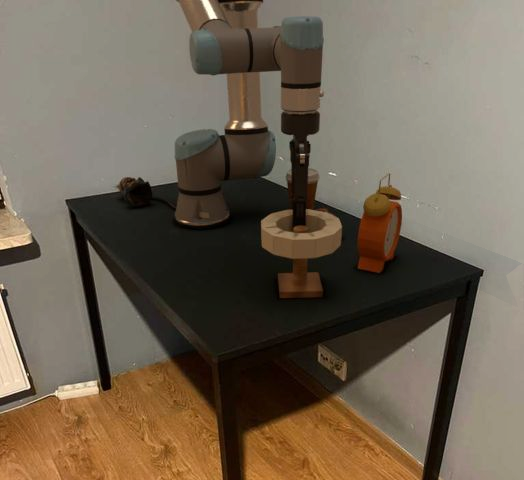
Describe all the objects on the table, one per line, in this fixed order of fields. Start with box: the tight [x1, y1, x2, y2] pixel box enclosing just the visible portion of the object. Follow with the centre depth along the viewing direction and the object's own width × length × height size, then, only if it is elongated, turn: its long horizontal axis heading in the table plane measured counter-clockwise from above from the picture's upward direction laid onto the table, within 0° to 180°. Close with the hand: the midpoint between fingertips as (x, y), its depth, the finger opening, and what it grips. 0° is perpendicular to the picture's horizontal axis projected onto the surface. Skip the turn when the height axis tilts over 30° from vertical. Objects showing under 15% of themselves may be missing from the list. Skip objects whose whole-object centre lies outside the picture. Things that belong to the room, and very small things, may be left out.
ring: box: [260, 209, 343, 260], centre depth 111 cm, size 16×16×4 cm
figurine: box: [117, 176, 153, 209], centre depth 167 cm, size 9×8×15 cm
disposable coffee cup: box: [284, 167, 321, 210], centre depth 154 cm, size 10×10×12 cm
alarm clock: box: [357, 173, 403, 274], centre depth 123 cm, size 13×6×20 cm, turn 151°
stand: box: [277, 226, 324, 299], centre depth 114 cm, size 9×9×14 cm
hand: (298, 228), depth 118 cm, fingers open, 3 cm apart
